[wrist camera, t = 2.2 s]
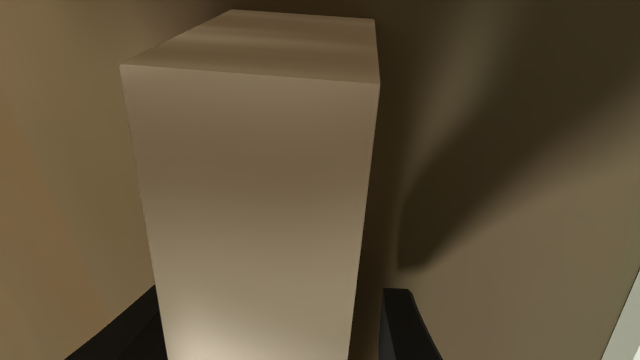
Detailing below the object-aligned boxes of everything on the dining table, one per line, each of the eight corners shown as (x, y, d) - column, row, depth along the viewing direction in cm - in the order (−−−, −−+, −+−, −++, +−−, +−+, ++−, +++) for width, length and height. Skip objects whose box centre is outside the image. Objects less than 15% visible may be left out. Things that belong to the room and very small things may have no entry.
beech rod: (331, 424, 16) (318, 607, 12) (249, 414, 16) (206, 590, 12) (374, 17, 9) (380, 84, 5) (234, 8, 9) (118, 64, 5)
